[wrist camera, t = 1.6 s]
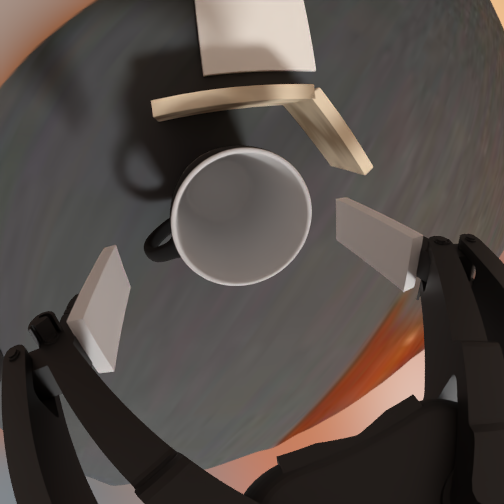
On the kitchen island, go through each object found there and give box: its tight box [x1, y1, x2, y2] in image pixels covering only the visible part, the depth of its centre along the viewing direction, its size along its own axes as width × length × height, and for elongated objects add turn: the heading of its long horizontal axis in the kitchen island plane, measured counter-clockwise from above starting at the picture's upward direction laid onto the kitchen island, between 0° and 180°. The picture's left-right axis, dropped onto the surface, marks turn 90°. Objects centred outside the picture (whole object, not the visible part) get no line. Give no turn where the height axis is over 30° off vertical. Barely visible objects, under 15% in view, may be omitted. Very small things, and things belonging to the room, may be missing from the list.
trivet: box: [194, 0, 316, 77], centre depth 19 cm, size 11×11×1 cm
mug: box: [144, 146, 312, 286], centre depth 21 cm, size 12×9×10 cm
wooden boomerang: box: [151, 84, 373, 175], centre depth 21 cm, size 18×8×6 cm, turn 97°
